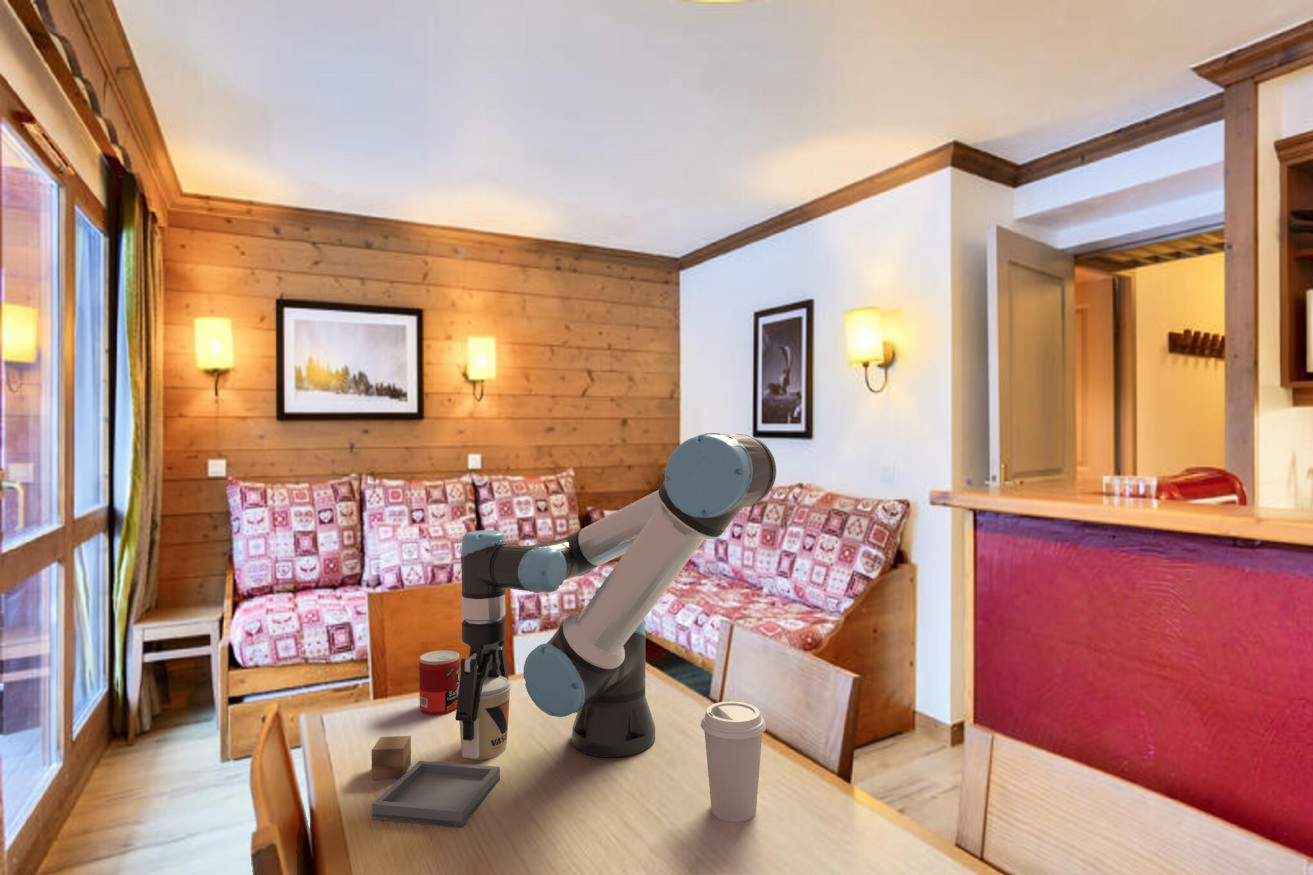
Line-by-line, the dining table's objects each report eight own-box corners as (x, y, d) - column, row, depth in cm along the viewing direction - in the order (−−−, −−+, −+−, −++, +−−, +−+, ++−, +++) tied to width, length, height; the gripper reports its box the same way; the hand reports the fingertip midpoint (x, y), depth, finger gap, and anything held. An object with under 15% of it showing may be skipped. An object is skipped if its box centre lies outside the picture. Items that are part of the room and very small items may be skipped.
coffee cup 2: (700, 796, 109) (699, 699, 109) (762, 796, 109) (761, 699, 109) (702, 830, 100) (701, 724, 100) (770, 831, 99) (769, 724, 99)
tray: (499, 780, 115) (499, 766, 115) (462, 827, 101) (461, 811, 101) (419, 773, 117) (419, 760, 117) (371, 818, 103) (371, 803, 103)
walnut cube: (410, 764, 120) (410, 735, 120) (403, 778, 116) (403, 748, 116) (380, 766, 120) (380, 736, 120) (371, 780, 115) (371, 749, 115)
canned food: (453, 716, 141) (453, 661, 141) (413, 716, 141) (413, 661, 141) (464, 702, 149) (464, 649, 149) (426, 702, 149) (426, 649, 149)
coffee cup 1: (497, 764, 120) (497, 694, 120) (447, 760, 122) (446, 690, 122) (519, 741, 129) (518, 676, 129) (471, 737, 131) (471, 672, 131)
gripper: (489, 602, 138) (490, 716, 138) (433, 635, 115) (433, 771, 115) (526, 604, 136) (526, 718, 136) (476, 637, 114) (477, 774, 114)
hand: (484, 742), depth 126 cm, fingers open, 10 cm apart
